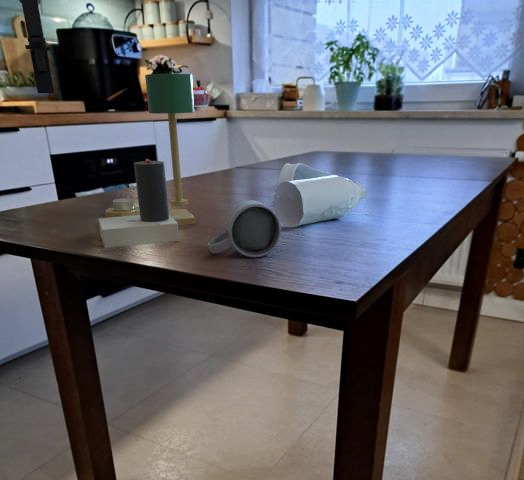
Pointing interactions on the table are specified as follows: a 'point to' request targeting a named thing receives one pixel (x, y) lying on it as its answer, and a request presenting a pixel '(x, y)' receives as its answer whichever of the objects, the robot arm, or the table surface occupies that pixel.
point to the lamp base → (183, 220)
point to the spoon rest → (298, 173)
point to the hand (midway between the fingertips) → (46, 93)
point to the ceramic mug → (249, 230)
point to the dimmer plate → (136, 231)
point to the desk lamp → (171, 113)
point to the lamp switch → (123, 205)
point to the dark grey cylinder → (151, 190)
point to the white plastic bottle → (316, 199)
